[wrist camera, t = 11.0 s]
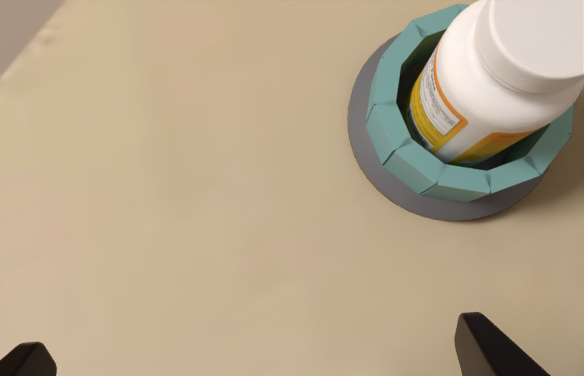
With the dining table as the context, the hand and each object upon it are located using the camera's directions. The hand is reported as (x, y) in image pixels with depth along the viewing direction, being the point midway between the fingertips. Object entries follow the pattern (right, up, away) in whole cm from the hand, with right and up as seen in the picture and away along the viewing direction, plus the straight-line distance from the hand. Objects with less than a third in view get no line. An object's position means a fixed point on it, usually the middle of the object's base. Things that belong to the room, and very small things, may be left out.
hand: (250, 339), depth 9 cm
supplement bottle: (+9, +7, +14) cm, 18 cm away
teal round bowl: (+9, +7, +14) cm, 19 cm away
